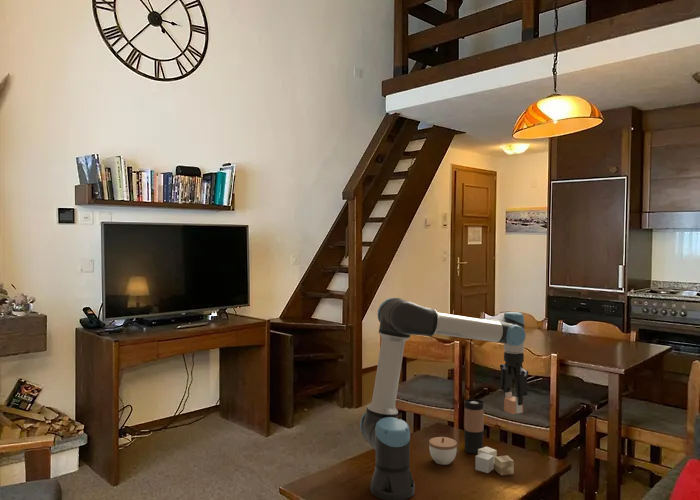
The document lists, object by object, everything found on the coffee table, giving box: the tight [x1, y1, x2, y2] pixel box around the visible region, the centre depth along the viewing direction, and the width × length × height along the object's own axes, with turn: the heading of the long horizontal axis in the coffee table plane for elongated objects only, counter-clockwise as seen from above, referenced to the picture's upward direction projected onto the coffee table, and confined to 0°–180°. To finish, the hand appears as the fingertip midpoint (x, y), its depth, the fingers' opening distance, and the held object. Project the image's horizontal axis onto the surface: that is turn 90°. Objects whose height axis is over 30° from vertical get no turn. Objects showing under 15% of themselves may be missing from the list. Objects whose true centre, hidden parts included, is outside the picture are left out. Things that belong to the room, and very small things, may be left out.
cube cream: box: [477, 446, 498, 465], centre depth 211 cm, size 5×5×5 cm
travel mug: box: [463, 398, 485, 454], centre depth 223 cm, size 8×8×20 cm
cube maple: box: [494, 455, 515, 476], centre depth 203 cm, size 5×5×5 cm
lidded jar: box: [428, 436, 458, 466], centre depth 212 cm, size 11×11×9 cm
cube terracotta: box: [503, 396, 524, 415], centre depth 215 cm, size 5×5×5 cm
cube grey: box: [474, 453, 495, 474], centre depth 205 cm, size 5×5×5 cm
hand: (513, 410), depth 215 cm, fingers closed on cube terracotta, 5 cm apart
